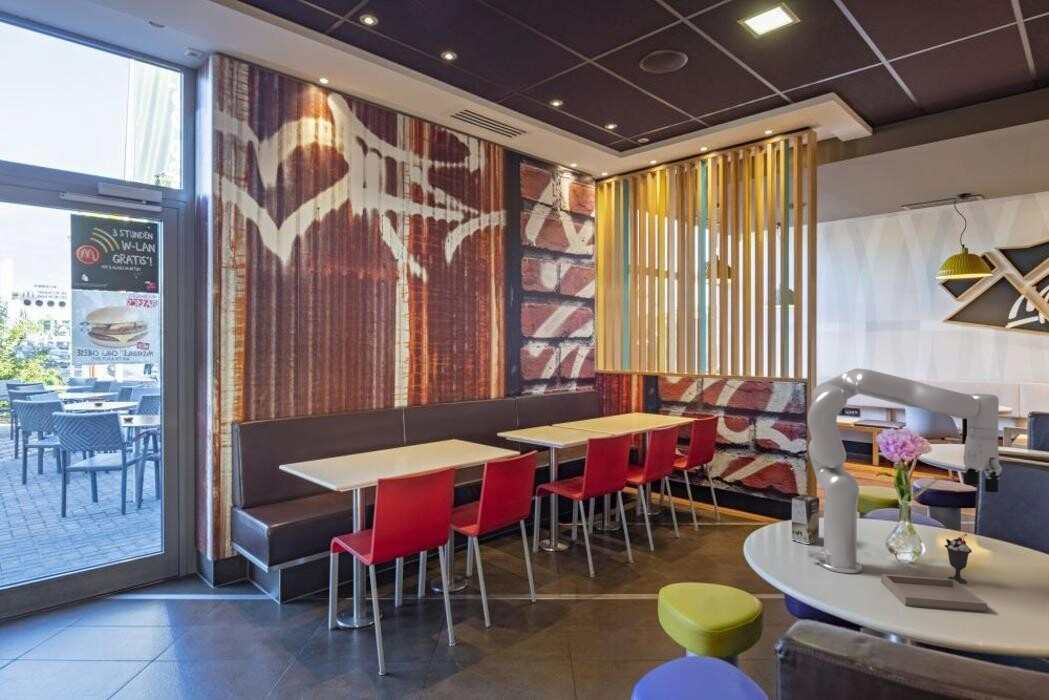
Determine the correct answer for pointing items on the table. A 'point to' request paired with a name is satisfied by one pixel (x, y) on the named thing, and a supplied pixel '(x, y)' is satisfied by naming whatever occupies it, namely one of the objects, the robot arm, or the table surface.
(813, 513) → the coffee box
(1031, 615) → the table surface
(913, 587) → the tray
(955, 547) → the sundae
